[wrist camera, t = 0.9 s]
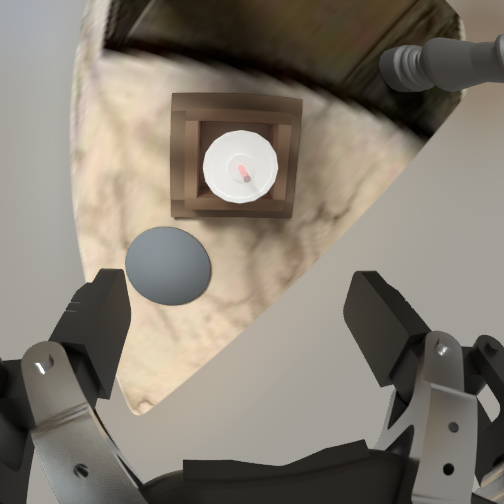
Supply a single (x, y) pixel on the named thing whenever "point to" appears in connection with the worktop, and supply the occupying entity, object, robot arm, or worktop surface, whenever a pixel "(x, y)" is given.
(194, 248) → the slate coaster
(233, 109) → the stepped square tray
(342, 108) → the worktop surface
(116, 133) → the worktop surface
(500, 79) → the candle holder
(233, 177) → the beverage cup
